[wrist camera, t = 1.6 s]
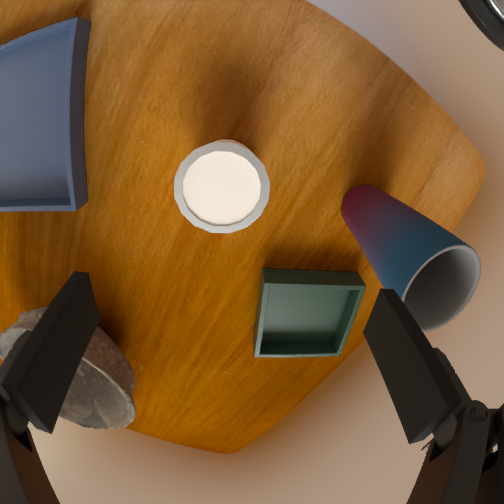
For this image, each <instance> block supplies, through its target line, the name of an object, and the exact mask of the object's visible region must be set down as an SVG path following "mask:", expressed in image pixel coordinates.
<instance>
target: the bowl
mask: <svg viewBox="0 0 504 504" xmlns="http://www.w3.org/2000/svg"><path fill="white" fill-rule="evenodd" d="M47 308H48V307H41V308H36V309H34V310H32V311H28V312H23V313H22V314H20V315H19V319H18V321H17V322H16V323H15V324H13V325H11V326H10V327H8V328H6V329H5V330H4V331H3V332H1V334H0V356H1V358H2V360H3V361H4V359H5V357H6V356H8V352H9V351H10V349H11V348H12V346H13V344H14V343H15V341H16V340H17V338H18V337H19V336H20V335H21V334H23V333H24V332H25V331H26V330H30V331H32V330H33V329H34V327H35V326H36V324H37V323H38V321H39V320H40V318H41V317H42V315H43V314H44V312H45V311H46V309H47ZM134 388H135V379H134V373H133V370H132V368H131V366H130V364H129V362H128V360H127V359H126V358H125V357H124V355H123V353H122V352H121V350H120V349H119V347H118V346H117V345H115V343H114V342H113V341H112V339H111V338H110V337H109V336H108V335H107V334H106V333H105V332H104V331H103V330H102V329H101V328H100V327H99V326H97V328H96V330H95V332H94V334H93V336H92V338H91V340H90V342H89V344H88V346H87V349H86V351H85V353H84V355H83V357H82V360H81V362H80V364H79V366H78V369H77V371H76V373H75V376H74V378H73V380H72V383H71V385H70V387H69V390H68V392H67V395H66V397H65V400H64V402H63V405H62V408H61V410H60V413H59V416H60V417H62V418H64V419H66V420H68V421H71V422H73V423H76V424H79V425H81V426H83V427H88V428H90V427H92V428H95V429H97V428H98V429H107V428H114V429H117V428H124V427H126V426H128V425H129V424H130V423H131V422H132V421H133V420H134V418H135V415H136V410H135V404H134V401H133V391H134Z"/></svg>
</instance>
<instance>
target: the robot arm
mask: <svg viewBox="0 0 504 504" xmlns="http://www.w3.org/2000/svg"><path fill="white" fill-rule="evenodd" d="M483 1H484V3H485V4H486V6H487V7H488V8H489V10H490V11H491V12H492V14H493V15H494V16H495V17H496V18H497V19H498V20H499V21H500V22H501V23H502V24H503V25H504V0H483ZM99 322H100V317H99V313H98V310H97V306H96V302H95V298H94V294H93V290H92V286H91V282H90V277H89V273H87V272H77V271H74V273H73V274H72V275H71V277H70V278H69V279H68V280H67V282H66V283H65V284H64V286H63V287H62V288H61V290H60V291H59V293H58V294H57V295H56V297H55V298H54V299H53V301H52V302H51V304H50V305H49V307H48V308H47V309H46V311H45V312H44V314H43V315H42V317H41V318H40V320H39V321H38V323H37V324H36V326H35V327H34V329H33V330H32V331H30V330H26V331H25V332H24V333H23V334H21V335H20V336H19V337H18V338H17V340H16V341H15V343H14V344H13V346H12V348H11V349H10V351H9V352H8V356H6V357H5V359H4V361H3V362H2V364H1V366H0V504H60V503H59V501H58V499H57V497H56V495H55V492H54V490H53V488H52V486H51V484H50V482H49V480H48V477H47V475H46V473H45V470H44V468H43V466H42V463H41V460H40V458H39V456H38V453H37V450H36V447H35V444H34V442H33V438H32V435H31V432H30V430H29V428H28V427H27V425H28V422H29V421H30V422H31V423H32V424H33V425H34V426H35V427H36V428H37V429H40V430H42V431H45V432H48V433H50V434H52V432H53V429H54V427H55V424H56V421H57V418H58V416H59V413H60V410H61V408H62V405H63V402H64V400H65V397H66V395H67V392H68V390H69V387H70V385H71V383H72V380H73V378H74V376H75V373H76V371H77V369H78V366H79V364H80V362H81V360H82V357H83V355H84V353H85V351H86V349H87V346H88V344H89V342H90V340H91V338H92V336H93V334H94V332H95V330H96V328H97V326H98V324H99ZM363 334H364V336H365V338H366V340H367V343H368V345H369V347H370V349H371V351H372V354H373V356H374V358H375V360H376V362H377V365H378V367H379V369H380V372H381V374H382V377H383V379H384V381H385V384H386V386H387V389H388V391H389V394H390V396H391V398H392V401H393V403H394V406H395V408H396V411H397V413H398V416H399V419H400V421H401V424H402V426H403V429H404V432H405V434H406V437H407V440H408V443H409V444H412V443H415V442H418V441H422V440H424V439H425V438H426V437H427V436H429V435H430V434H431V433H433V435H434V438H433V439H432V440H431V441H430V442H428V443H427V444H426V445H425V446H424V447H423V448H422V450H421V452H423V451H425V450H426V449H427V448H428V447H429V448H428V451H427V452H426V457H425V460H424V462H423V465H422V468H421V470H420V473H419V476H418V478H417V481H416V483H415V485H414V488H413V490H412V493H411V495H410V497H409V499H408V501H407V503H406V504H504V403H503V405H502V406H501V407H500V408H499V409H488V408H487V407H486V406H485V405H484V404H483V403H482V402H480V401H477V400H473V401H472V400H471V398H470V397H469V395H468V393H467V391H466V389H465V388H464V386H463V384H462V382H461V381H460V379H459V377H458V375H457V374H455V370H454V369H453V367H452V366H451V364H450V362H449V360H448V359H447V357H446V355H445V354H444V353H442V352H441V351H440V350H439V349H438V348H432V346H431V344H430V343H429V341H428V340H427V338H426V336H425V335H424V333H423V331H422V330H421V328H420V327H419V325H418V324H417V322H416V321H415V319H414V318H413V316H412V315H411V313H410V312H409V310H408V309H407V307H406V306H405V304H404V303H403V301H402V300H401V298H400V297H399V295H398V294H397V292H396V291H395V290H394V289H380V291H379V294H378V297H377V299H376V302H375V304H374V307H373V309H372V312H371V314H370V317H369V319H368V322H367V324H366V327H365V329H364V331H363ZM496 444H497V446H498V450H497V451H495V452H493V447H494V446H495V445H496Z"/></svg>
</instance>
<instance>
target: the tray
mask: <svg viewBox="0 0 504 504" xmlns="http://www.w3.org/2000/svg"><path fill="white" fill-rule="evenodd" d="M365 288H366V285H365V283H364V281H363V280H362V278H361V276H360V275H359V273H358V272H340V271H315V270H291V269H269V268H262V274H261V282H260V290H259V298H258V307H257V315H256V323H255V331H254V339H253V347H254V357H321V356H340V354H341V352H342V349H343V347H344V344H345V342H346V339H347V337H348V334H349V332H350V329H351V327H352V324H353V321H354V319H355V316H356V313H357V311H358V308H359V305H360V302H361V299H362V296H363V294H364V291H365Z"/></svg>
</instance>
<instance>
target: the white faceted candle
mask: <svg viewBox="0 0 504 504" xmlns="http://www.w3.org/2000/svg"><path fill="white" fill-rule="evenodd" d="M269 188H270V181H269V178H268V175H267V172H266V169H265V167H264V165H263V164H262V162H261V161H260V160H259V159H258V158H257V157H256V156H255V155H254V154H253V153H252V151H251V150H249V149H248V148H247V147H246V146H245V145H243V144H241V143H239V142H237V141H235V140H226V139H220V140H218V141H215V142H212V143H210V144H207V145H204V146H202V147H199V148H197V149H195V150H194V151H193V152H191V153H190V154H189V155H188V156H187V157H186V158H185V159H184V160H183V161H182V162H181V164H180V167H179V169H178V171H177V174H176V176H175V179H174V194H175V200H176V202H177V204H178V206H179V208H180V211H181V213H182V214H183V215H184V216H185V217H186V218H187V219H188V220H189V221H190V222H191V223H192V224H193V225H194V226H196V227H199V228H201V229H204V230H206V231H208V232H211V233H232V232H235V231H238V230H241V229H244V228H246V227H248V226H249V225H250V224H251V223H252V222H254V221H255V220H256V219H257V218H259V217H260V215H261V213H262V212H263V210H264V208H265V206H266V204H267V202H268V200H269Z"/></svg>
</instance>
